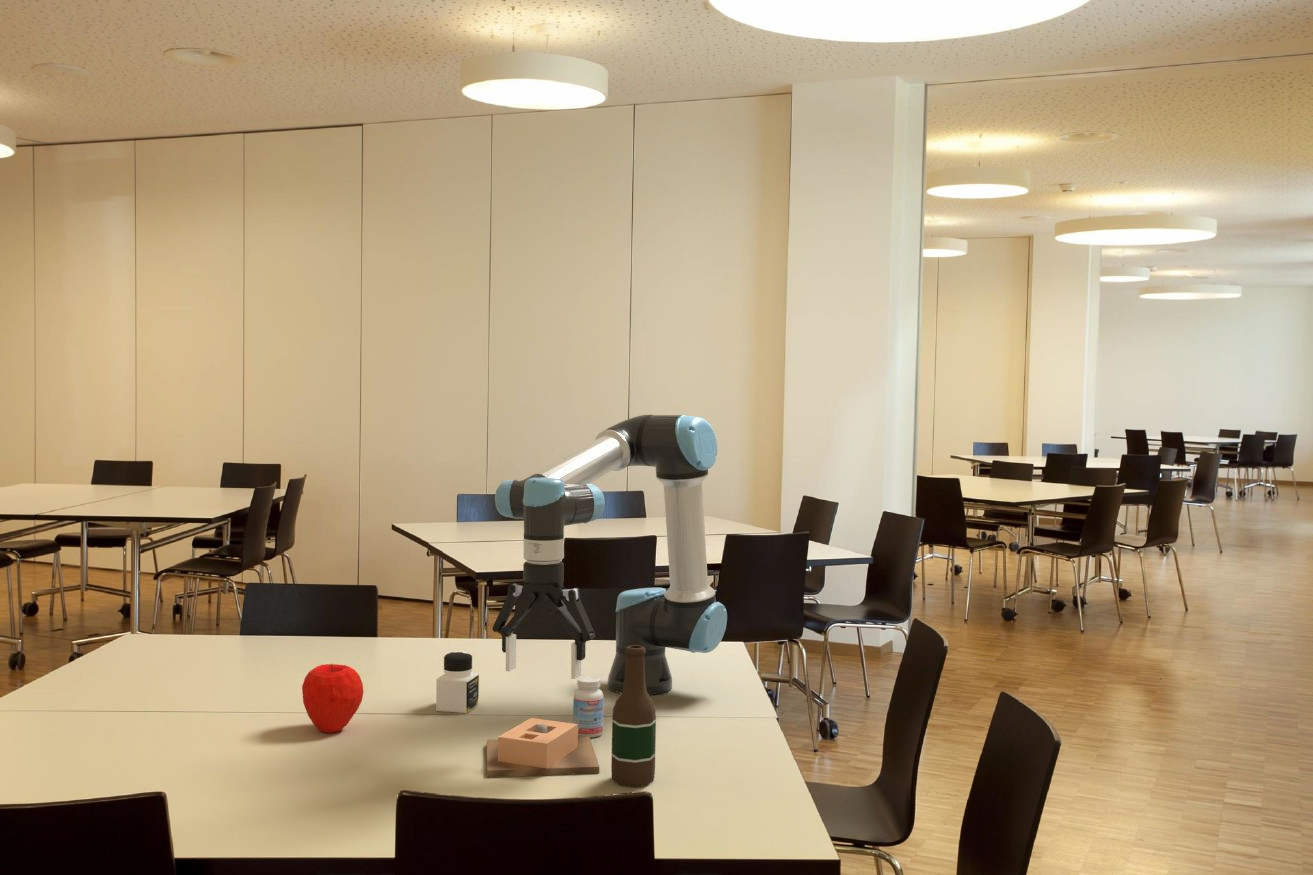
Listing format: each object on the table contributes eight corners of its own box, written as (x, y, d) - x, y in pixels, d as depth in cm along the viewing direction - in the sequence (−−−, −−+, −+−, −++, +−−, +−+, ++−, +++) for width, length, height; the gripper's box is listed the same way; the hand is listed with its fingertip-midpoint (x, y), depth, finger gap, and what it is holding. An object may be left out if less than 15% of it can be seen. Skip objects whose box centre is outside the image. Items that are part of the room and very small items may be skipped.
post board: (589, 742, 217) (589, 710, 217) (599, 772, 200) (599, 739, 200) (486, 745, 214) (487, 713, 214) (487, 777, 197) (487, 742, 196)
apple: (374, 725, 226) (374, 660, 226) (340, 741, 215) (340, 673, 215) (325, 718, 230) (325, 655, 230) (289, 734, 219) (289, 667, 218)
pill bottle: (580, 740, 219) (581, 684, 218) (568, 731, 224) (568, 676, 224) (607, 736, 221) (608, 680, 221) (595, 728, 227) (596, 673, 226)
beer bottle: (610, 772, 200) (612, 641, 199) (653, 772, 201) (655, 641, 200) (612, 788, 192) (614, 651, 191) (656, 787, 193) (659, 651, 192)
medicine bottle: (467, 713, 235) (467, 658, 235) (435, 711, 237) (436, 655, 236) (478, 704, 242) (479, 650, 242) (448, 702, 244) (448, 648, 243)
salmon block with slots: (530, 740, 214) (531, 717, 214) (577, 747, 210) (577, 724, 210) (497, 760, 202) (498, 736, 202) (546, 768, 198) (547, 743, 198)
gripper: (474, 559, 207) (474, 671, 208) (596, 568, 198) (595, 685, 199) (494, 553, 214) (494, 662, 215) (613, 562, 205) (612, 675, 206)
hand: (543, 673), depth 207 cm, fingers open, 13 cm apart
